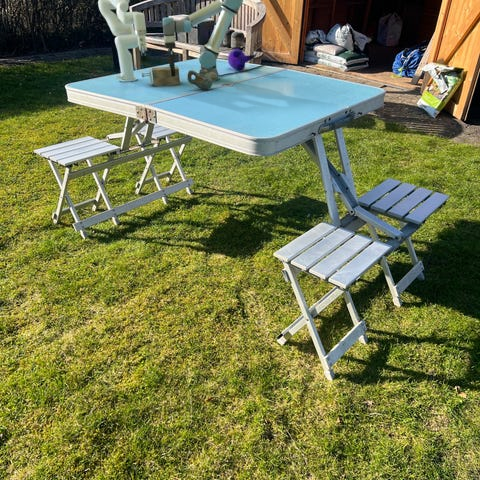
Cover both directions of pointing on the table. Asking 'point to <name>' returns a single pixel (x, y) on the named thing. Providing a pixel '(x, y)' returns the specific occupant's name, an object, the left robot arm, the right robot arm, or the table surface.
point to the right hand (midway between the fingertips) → (172, 75)
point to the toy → (238, 59)
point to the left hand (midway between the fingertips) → (144, 60)
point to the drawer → (148, 75)
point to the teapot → (202, 78)
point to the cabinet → (165, 76)
